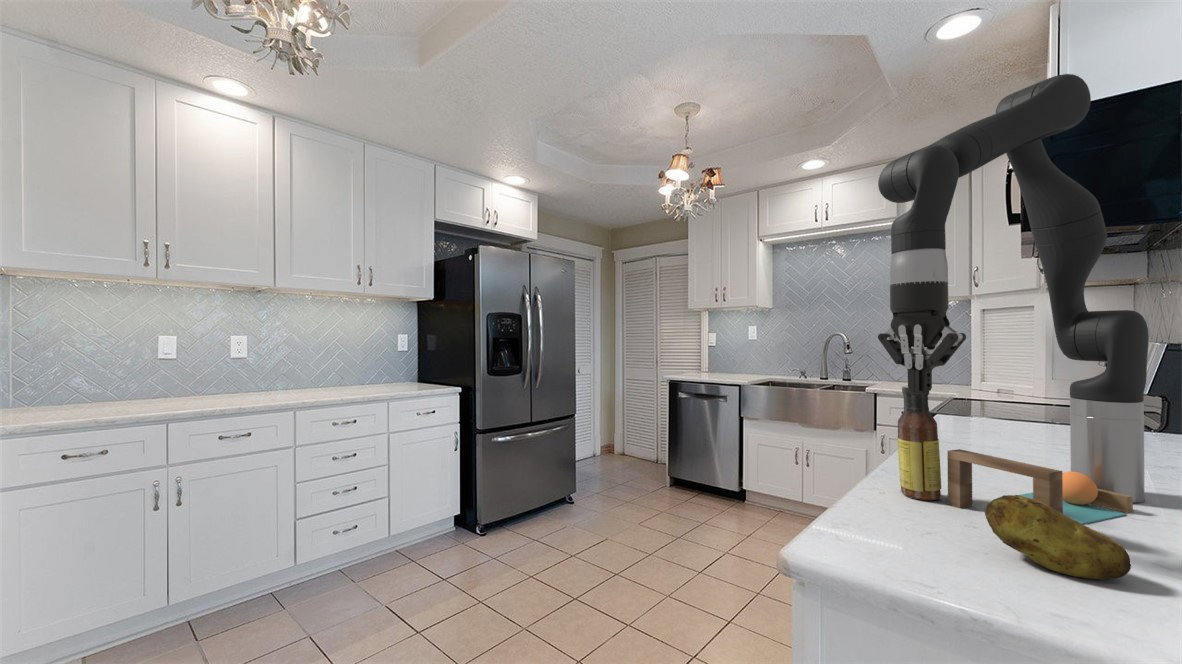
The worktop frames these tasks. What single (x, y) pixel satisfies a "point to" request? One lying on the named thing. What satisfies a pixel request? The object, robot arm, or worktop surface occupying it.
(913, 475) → the sauce bottle
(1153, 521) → the worktop surface
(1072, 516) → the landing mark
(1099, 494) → the stopper strip
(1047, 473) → the bridge
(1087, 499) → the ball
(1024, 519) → the potato
